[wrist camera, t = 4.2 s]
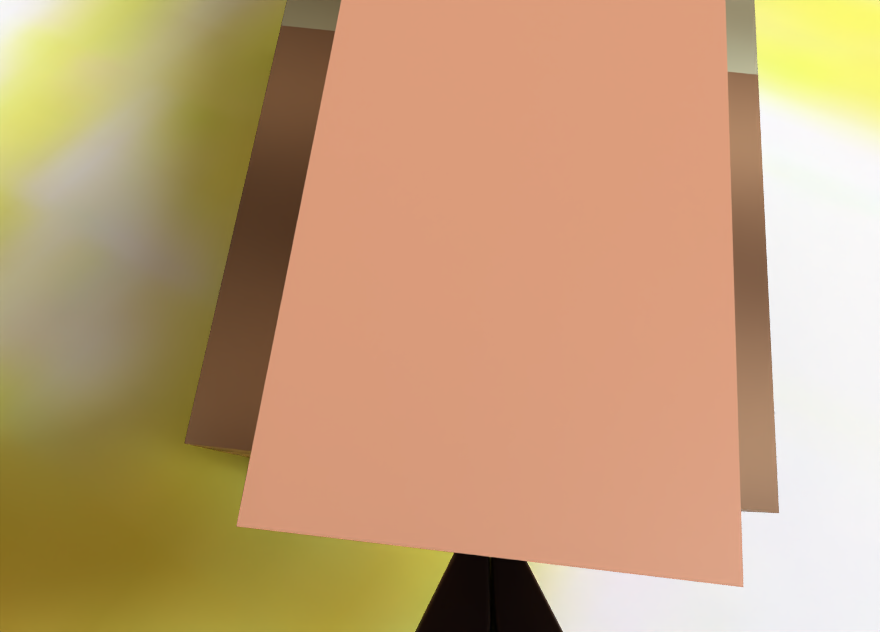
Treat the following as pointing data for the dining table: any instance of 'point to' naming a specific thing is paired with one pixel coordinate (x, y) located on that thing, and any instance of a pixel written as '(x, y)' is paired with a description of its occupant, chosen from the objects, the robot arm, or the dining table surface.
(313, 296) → the block
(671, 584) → the dining table surface
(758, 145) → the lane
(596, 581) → the dining table surface
